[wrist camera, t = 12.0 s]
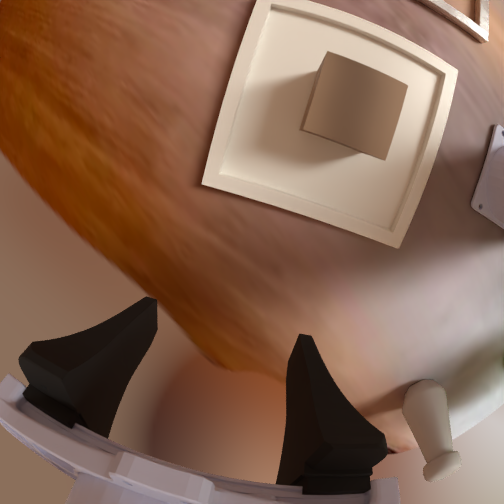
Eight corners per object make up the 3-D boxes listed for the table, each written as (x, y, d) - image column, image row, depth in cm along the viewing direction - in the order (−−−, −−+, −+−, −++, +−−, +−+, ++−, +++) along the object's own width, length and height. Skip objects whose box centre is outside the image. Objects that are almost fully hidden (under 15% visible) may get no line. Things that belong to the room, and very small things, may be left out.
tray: (450, 72, 14) (458, 70, 12) (393, 242, 20) (398, 249, 19) (262, -3, 13) (260, -10, 12) (206, 181, 20) (201, 184, 19)
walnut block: (379, 94, 15) (408, 85, 11) (361, 152, 17) (385, 160, 13) (317, 70, 15) (327, 50, 11) (299, 130, 17) (303, 129, 13)
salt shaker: (393, 390, 27) (413, 484, 15) (434, 367, 25) (468, 458, 13) (406, 408, 28) (424, 489, 17) (443, 387, 26) (470, 467, 15)
